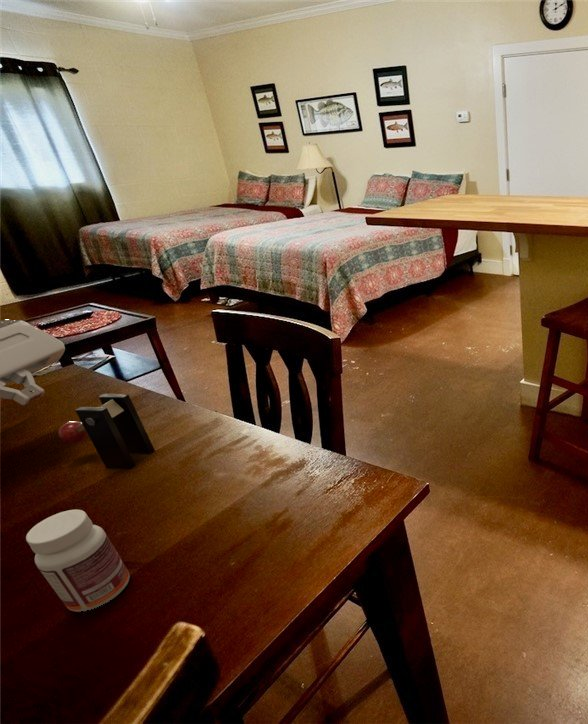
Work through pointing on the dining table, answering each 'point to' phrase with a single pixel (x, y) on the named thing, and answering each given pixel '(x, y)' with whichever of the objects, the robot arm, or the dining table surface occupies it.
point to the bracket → (116, 432)
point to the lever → (76, 430)
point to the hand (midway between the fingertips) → (34, 398)
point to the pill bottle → (77, 560)
